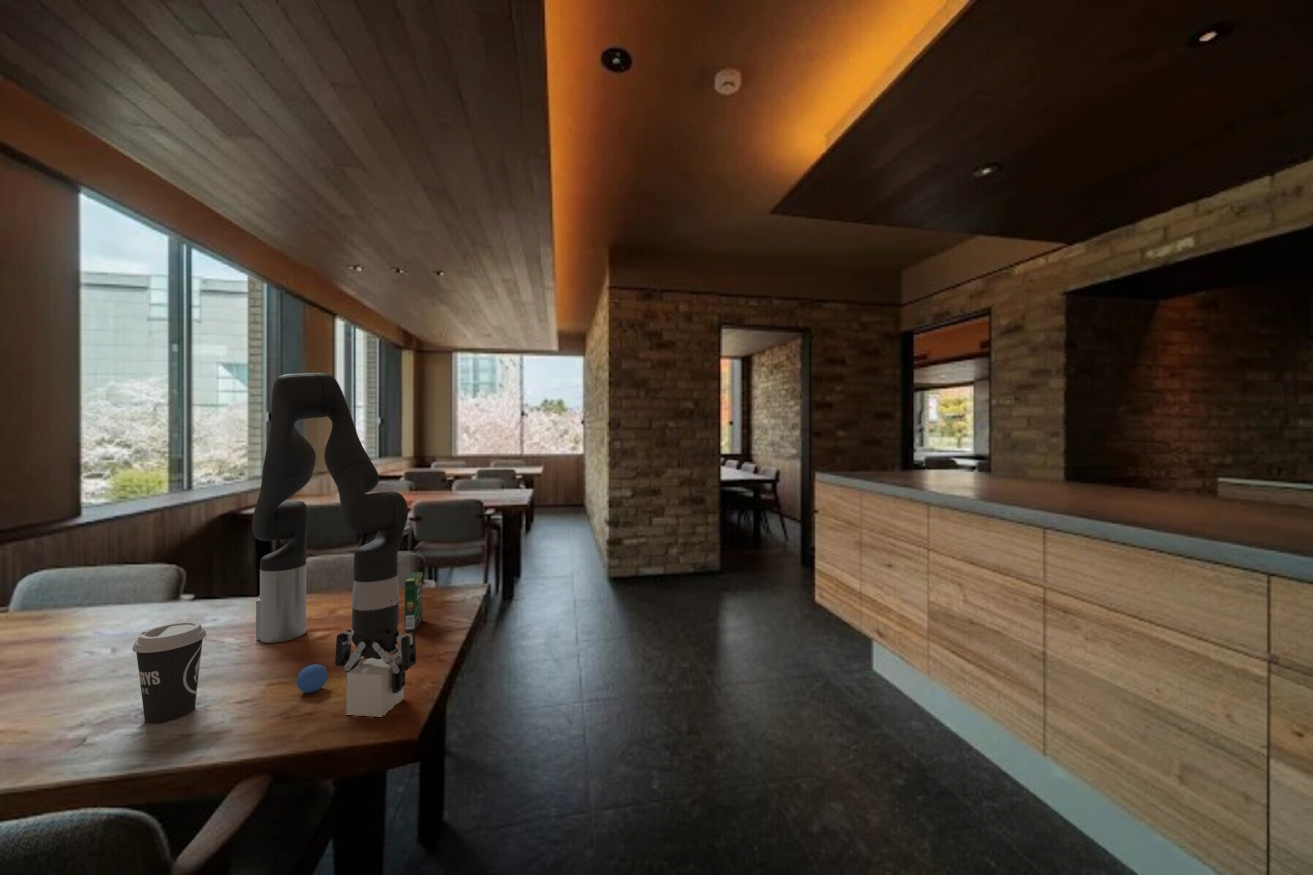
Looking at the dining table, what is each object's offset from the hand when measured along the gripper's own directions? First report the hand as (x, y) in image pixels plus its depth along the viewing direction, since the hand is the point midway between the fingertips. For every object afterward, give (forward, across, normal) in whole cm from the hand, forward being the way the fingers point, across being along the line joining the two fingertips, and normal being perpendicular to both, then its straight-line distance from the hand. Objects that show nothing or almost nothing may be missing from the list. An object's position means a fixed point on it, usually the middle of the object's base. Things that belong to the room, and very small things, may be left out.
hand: (375, 690), depth 93 cm
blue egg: (+1, -16, +4) cm, 17 cm away
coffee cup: (+3, -35, -6) cm, 36 cm away
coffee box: (+3, -16, +38) cm, 41 cm away
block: (+3, 0, 0) cm, 3 cm away
